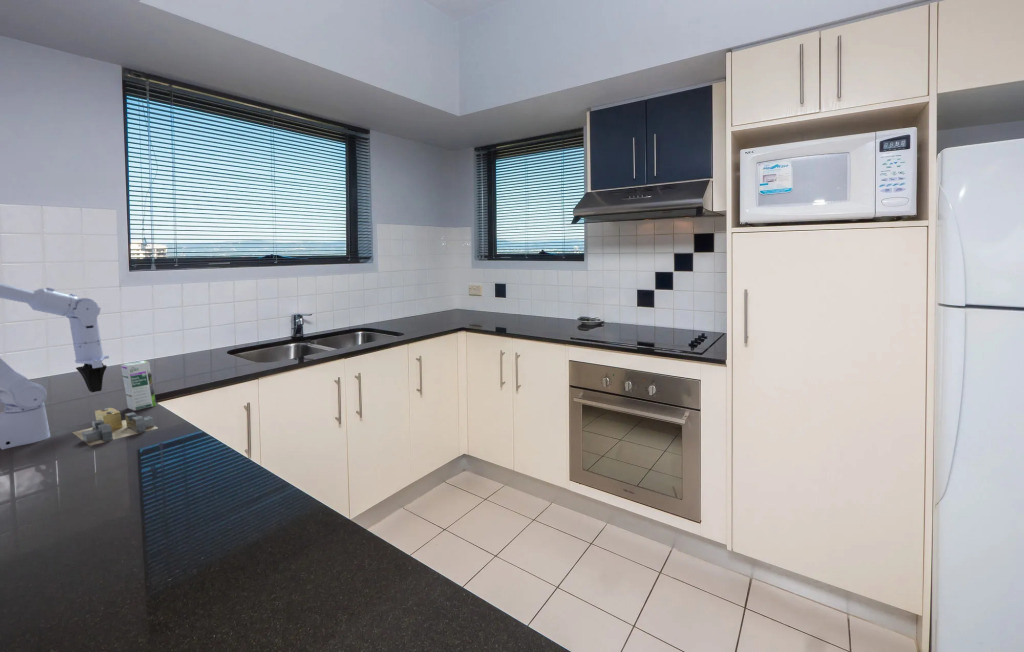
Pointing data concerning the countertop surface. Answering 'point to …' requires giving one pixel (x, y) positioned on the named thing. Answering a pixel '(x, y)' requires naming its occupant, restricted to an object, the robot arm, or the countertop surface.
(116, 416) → the link
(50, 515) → the countertop surface
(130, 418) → the chain ends
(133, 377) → the syrup box
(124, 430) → the board
